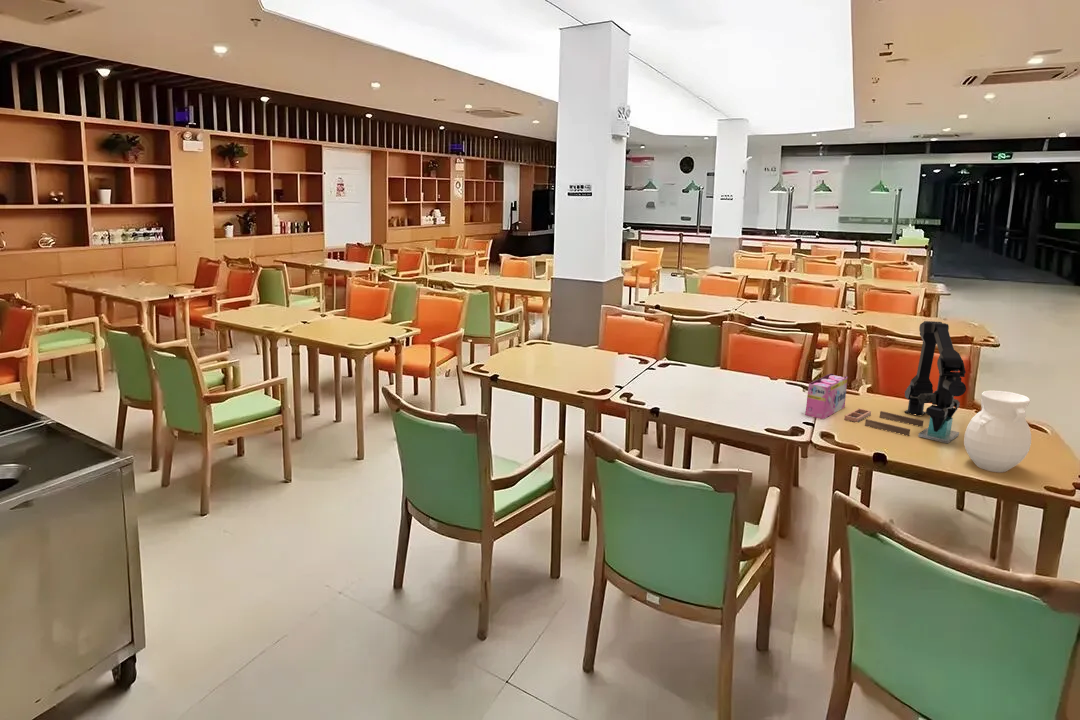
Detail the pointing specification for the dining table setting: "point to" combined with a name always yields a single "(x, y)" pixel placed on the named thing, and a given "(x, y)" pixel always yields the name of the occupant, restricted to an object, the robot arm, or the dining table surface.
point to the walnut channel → (892, 427)
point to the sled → (940, 431)
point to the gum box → (826, 396)
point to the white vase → (999, 431)
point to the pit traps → (857, 415)
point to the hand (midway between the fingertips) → (939, 428)
